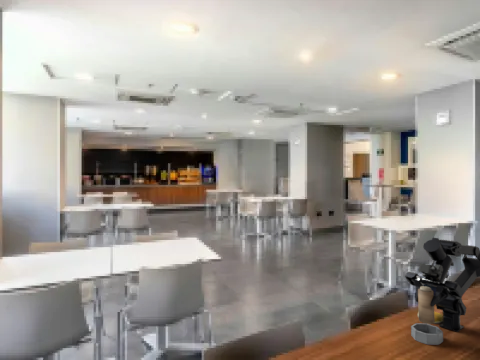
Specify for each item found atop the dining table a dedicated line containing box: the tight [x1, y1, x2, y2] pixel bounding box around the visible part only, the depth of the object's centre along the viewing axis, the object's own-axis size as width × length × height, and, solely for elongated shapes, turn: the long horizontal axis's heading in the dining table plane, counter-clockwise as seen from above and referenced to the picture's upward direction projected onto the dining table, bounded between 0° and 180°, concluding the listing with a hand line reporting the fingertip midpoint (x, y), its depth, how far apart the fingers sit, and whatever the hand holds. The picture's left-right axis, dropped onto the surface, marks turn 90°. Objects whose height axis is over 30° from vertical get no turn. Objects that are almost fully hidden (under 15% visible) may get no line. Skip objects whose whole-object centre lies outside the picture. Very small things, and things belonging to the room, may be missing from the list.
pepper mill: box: [417, 285, 435, 325], centre depth 119 cm, size 5×5×12 cm
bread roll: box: [417, 311, 443, 324], centre depth 136 cm, size 8×9×4 cm
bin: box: [410, 322, 444, 346], centre depth 119 cm, size 9×9×4 cm
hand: (423, 303), depth 119 cm, fingers closed on pepper mill, 5 cm apart
